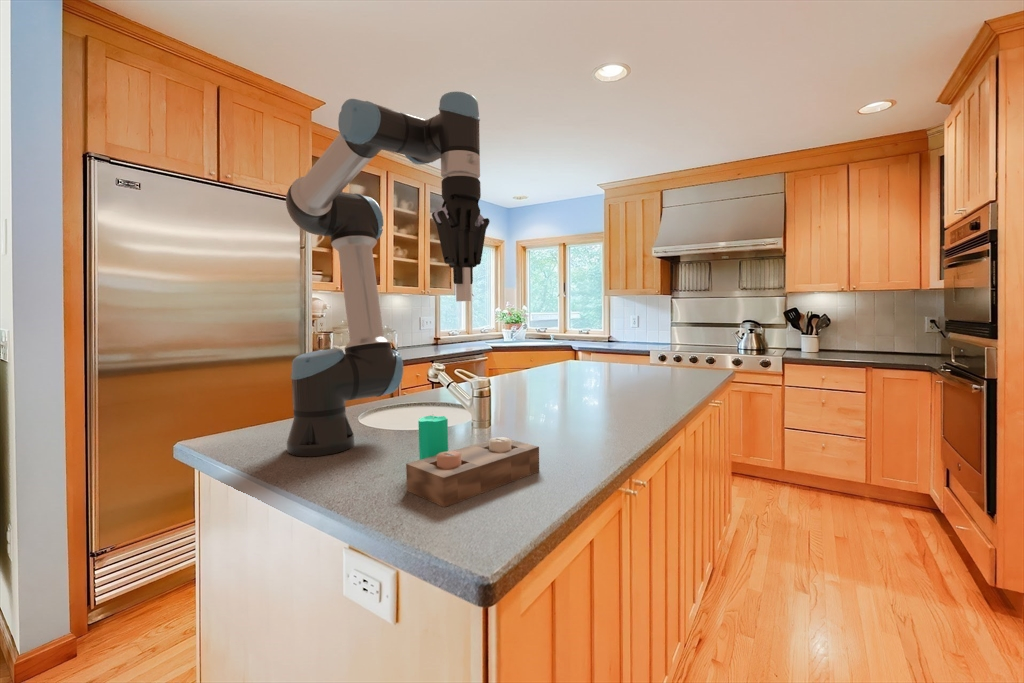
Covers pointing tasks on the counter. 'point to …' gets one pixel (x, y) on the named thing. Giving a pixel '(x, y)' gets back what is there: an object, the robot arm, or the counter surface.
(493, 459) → the mount
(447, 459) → the knob near
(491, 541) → the counter surface
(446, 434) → the candle
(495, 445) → the knob far
